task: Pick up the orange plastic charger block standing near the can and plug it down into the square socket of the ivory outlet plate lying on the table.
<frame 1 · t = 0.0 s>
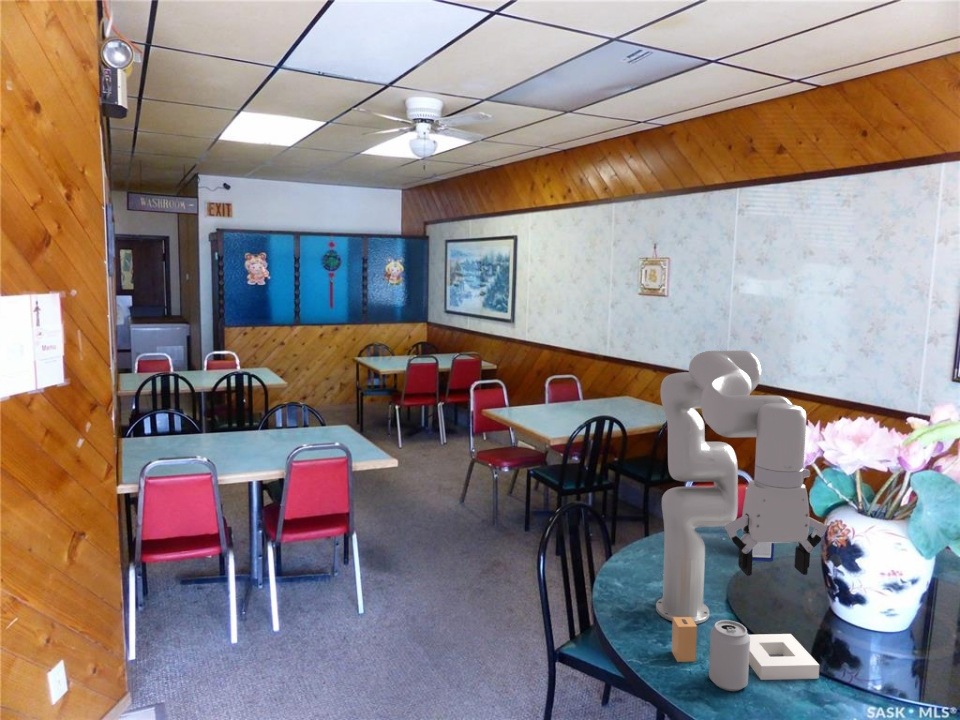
hand: (773, 571, 116), 31 cm above the table, fingers open, 9 cm apart
outlet plate: (776, 662, 143), on the table
can: (728, 683, 136), on the table
charger: (683, 656, 145), on the table
milk carton: (757, 556, 197), on the table
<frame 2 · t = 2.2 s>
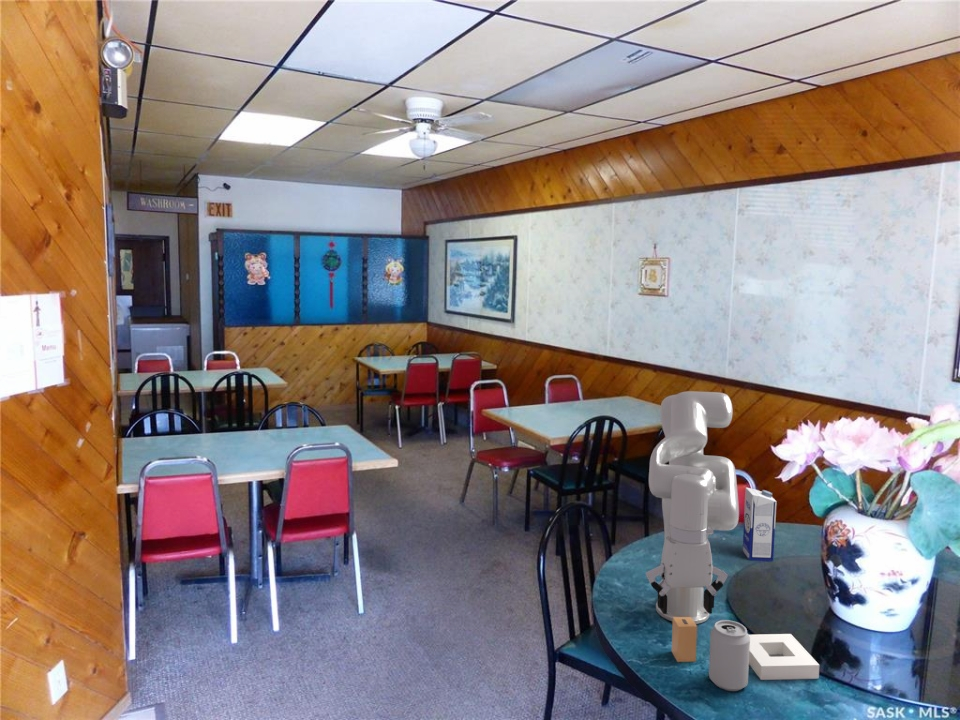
hand: (685, 610, 143), 11 cm above the table, fingers open, 9 cm apart
nothing on the table moved.
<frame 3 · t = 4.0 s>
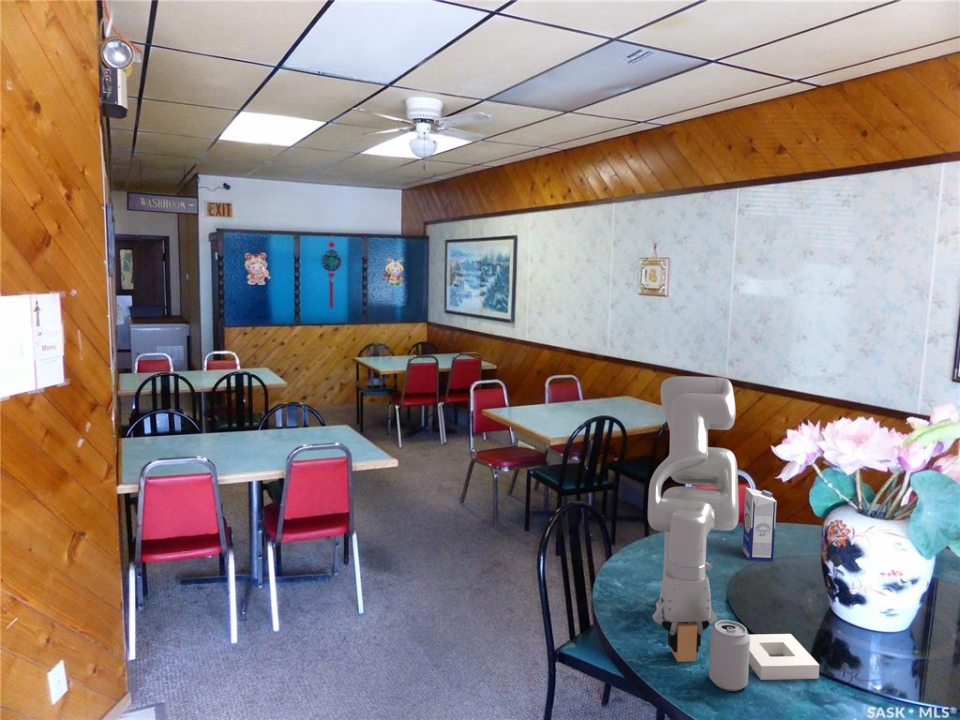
hand: (683, 648, 145), 2 cm above the table, fingers closed on charger, 4 cm apart
charger: (683, 656, 145), on the table, touching gripper
everything else where it was.
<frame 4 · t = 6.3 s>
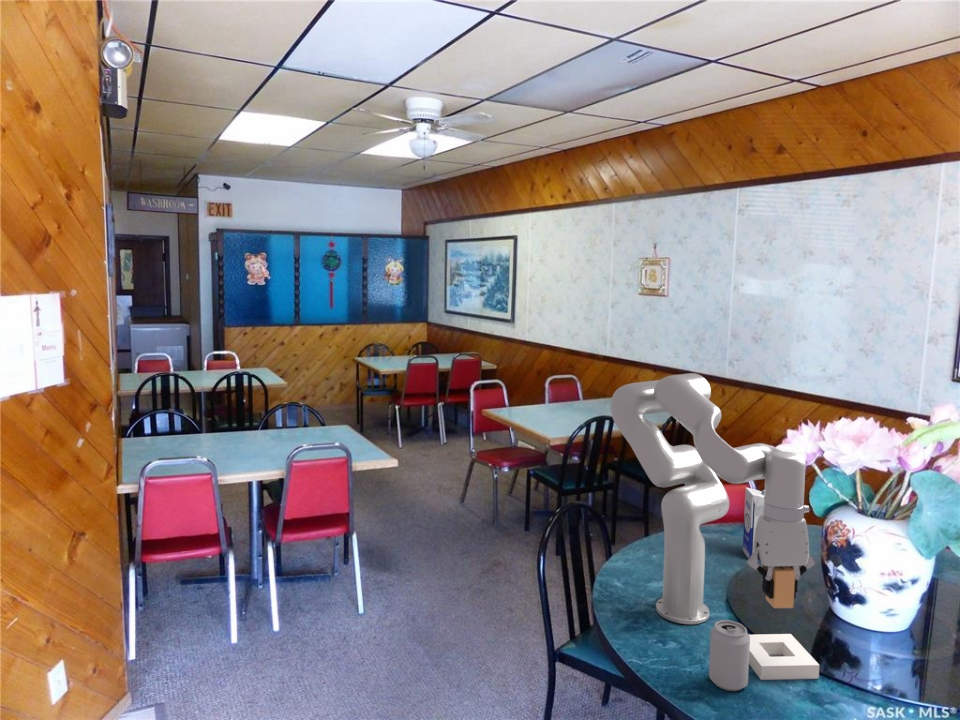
hand: (779, 594, 141), 15 cm above the table, fingers closed on charger, 4 cm apart
charger: (779, 603, 141), point 14 cm above the table, touching gripper
everything else where it was.
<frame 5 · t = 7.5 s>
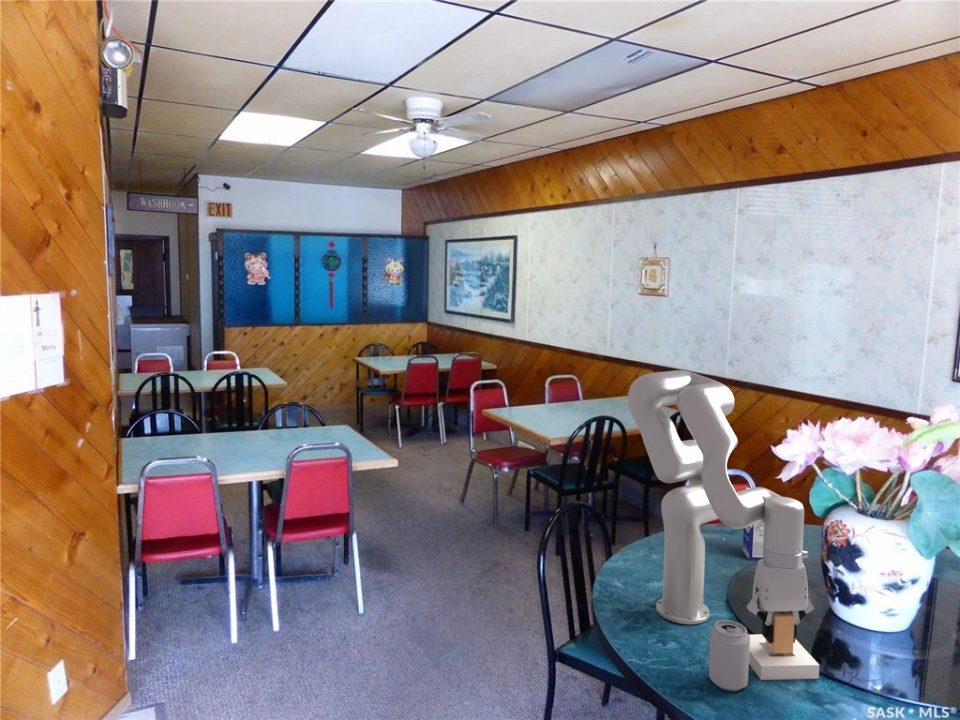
hand: (778, 638, 142), 6 cm above the table, fingers closed on charger, 4 cm apart
charger: (779, 647, 142), point 4 cm above the table, touching gripper
everything else where it was.
when the fingers open (4 cm above the table, at t = 8.5 s): charger drops 2 cm, resting on outlet plate.
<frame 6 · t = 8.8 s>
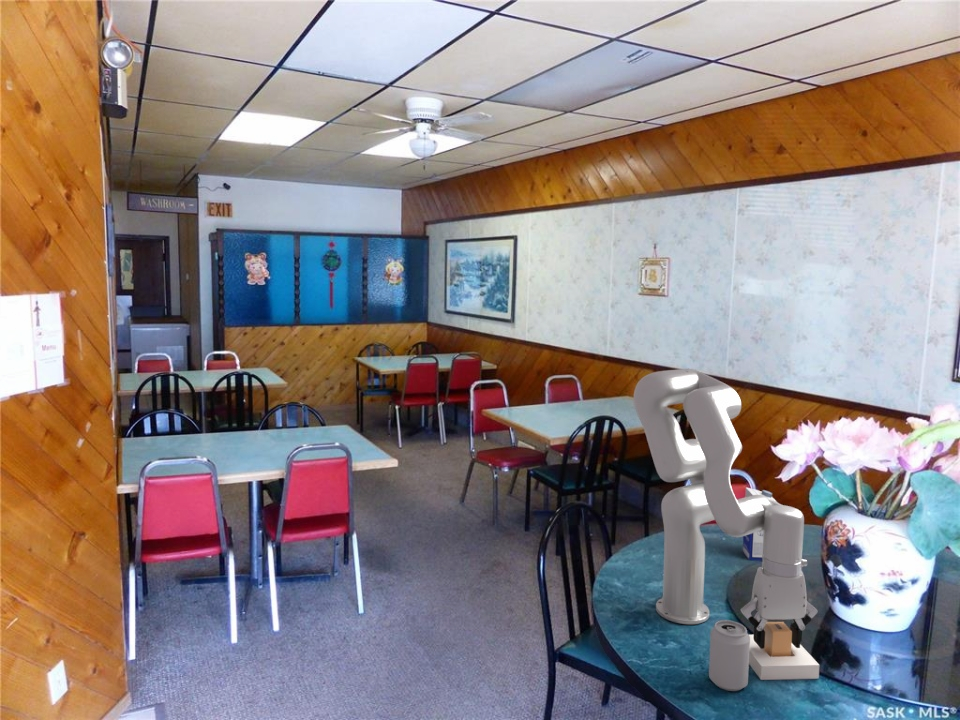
hand: (777, 644, 142), 4 cm above the table, fingers open, 7 cm apart
charger: (776, 661, 143), resting on outlet plate
everything else where it was.
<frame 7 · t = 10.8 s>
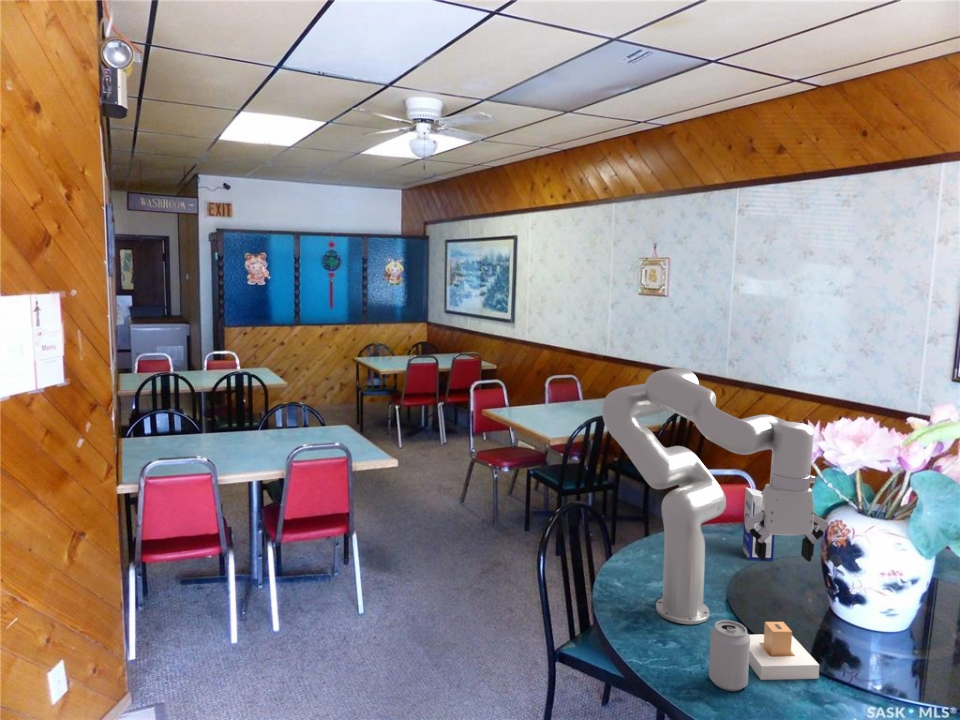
hand: (783, 558, 143), 22 cm above the table, fingers open, 9 cm apart
nothing on the table moved.
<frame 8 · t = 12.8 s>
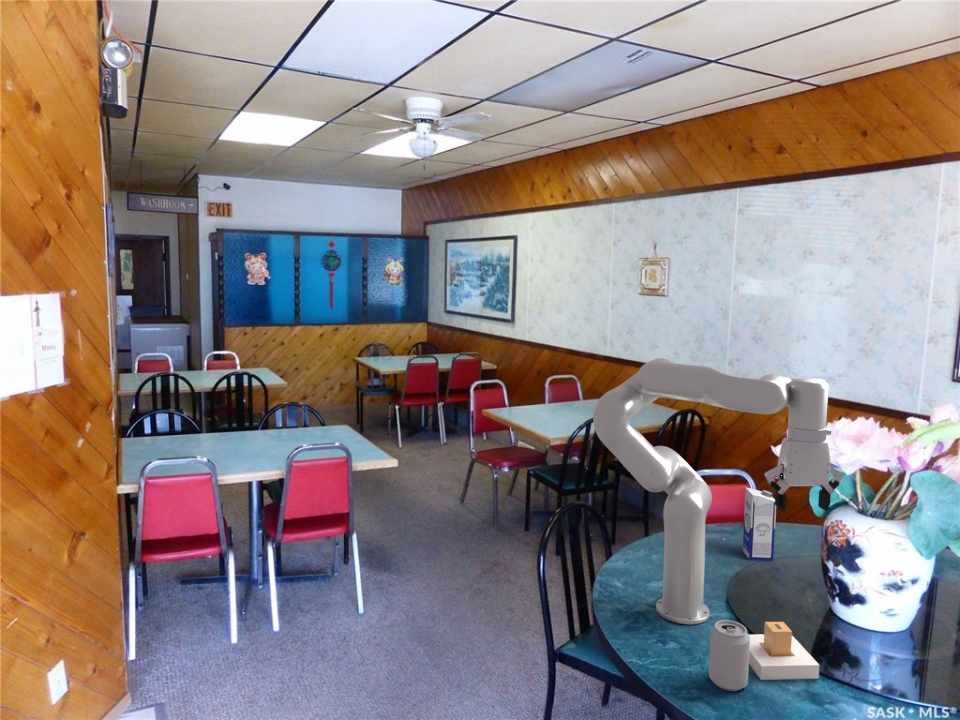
hand: (802, 509, 149), 30 cm above the table, fingers open, 9 cm apart
nothing on the table moved.
at the end: charger 0.1 cm off-centre on the outlet plate, point 0.2 cm above the outlet plate's base; charger tilted 0°; the gripper is holding nothing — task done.
